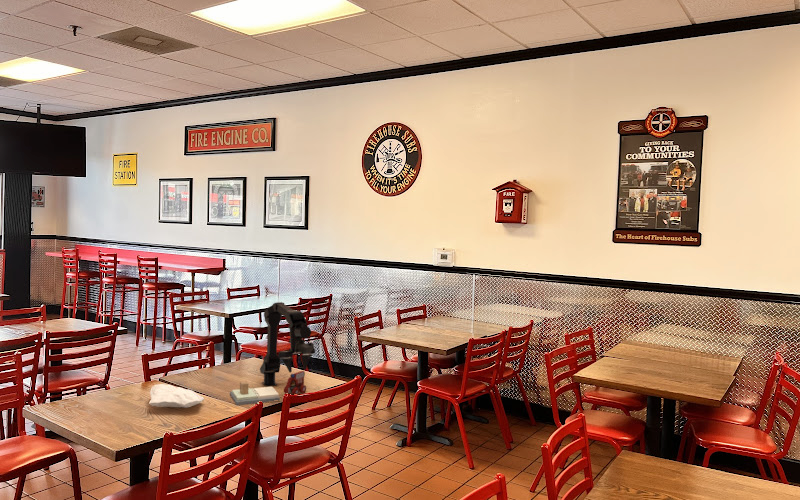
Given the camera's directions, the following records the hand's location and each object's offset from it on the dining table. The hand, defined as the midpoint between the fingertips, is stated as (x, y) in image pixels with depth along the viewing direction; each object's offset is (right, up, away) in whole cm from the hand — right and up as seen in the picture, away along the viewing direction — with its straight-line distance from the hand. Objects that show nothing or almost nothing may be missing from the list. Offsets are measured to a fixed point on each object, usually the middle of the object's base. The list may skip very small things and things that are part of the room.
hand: (297, 371), depth 294 cm
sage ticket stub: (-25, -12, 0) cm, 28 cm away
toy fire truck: (-3, -14, +12) cm, 18 cm away
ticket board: (-21, -13, +2) cm, 25 cm away
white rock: (-54, -14, -14) cm, 58 cm away
